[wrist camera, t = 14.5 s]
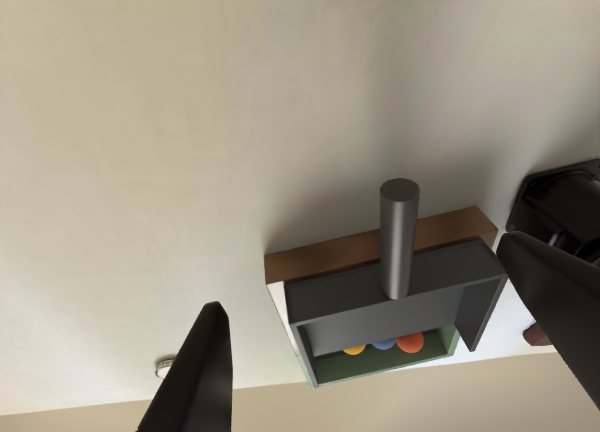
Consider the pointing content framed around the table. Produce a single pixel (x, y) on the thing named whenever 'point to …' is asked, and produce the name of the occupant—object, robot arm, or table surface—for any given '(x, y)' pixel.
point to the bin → (381, 357)
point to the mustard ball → (355, 350)
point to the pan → (396, 288)
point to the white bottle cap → (163, 368)
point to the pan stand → (367, 252)
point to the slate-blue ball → (385, 343)
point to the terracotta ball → (410, 342)
